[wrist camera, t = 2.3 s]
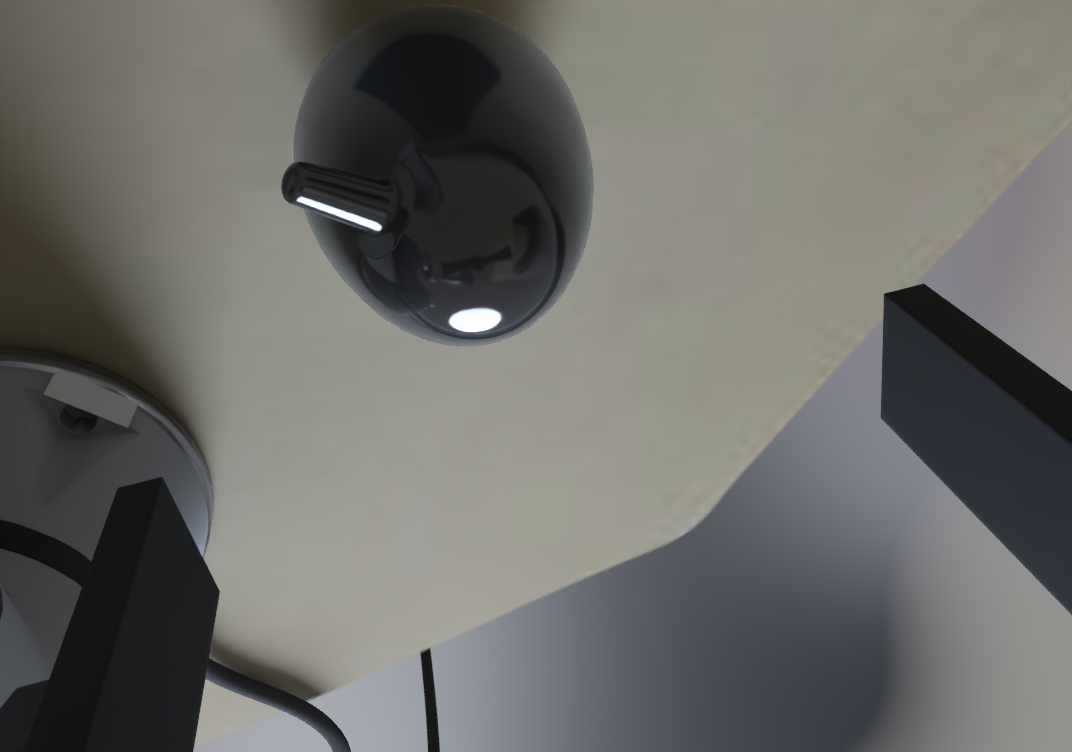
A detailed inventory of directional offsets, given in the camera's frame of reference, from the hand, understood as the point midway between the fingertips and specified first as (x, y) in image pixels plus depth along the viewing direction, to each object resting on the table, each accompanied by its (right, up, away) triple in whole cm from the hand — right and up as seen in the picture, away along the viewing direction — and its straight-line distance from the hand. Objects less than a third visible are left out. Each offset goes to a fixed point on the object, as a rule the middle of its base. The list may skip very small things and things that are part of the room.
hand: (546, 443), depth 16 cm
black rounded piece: (-4, +11, +20) cm, 23 cm away
